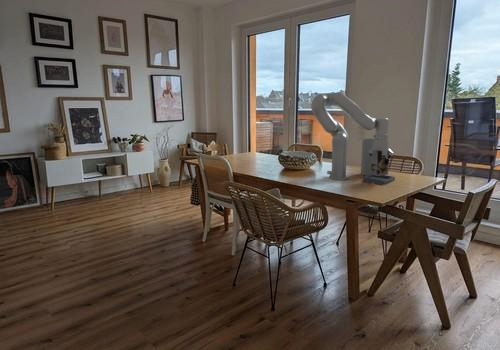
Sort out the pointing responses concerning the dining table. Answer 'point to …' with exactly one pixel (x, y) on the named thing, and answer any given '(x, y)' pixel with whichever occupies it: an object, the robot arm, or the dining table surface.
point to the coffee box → (378, 164)
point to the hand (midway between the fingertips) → (380, 164)
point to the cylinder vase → (366, 157)
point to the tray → (379, 179)
